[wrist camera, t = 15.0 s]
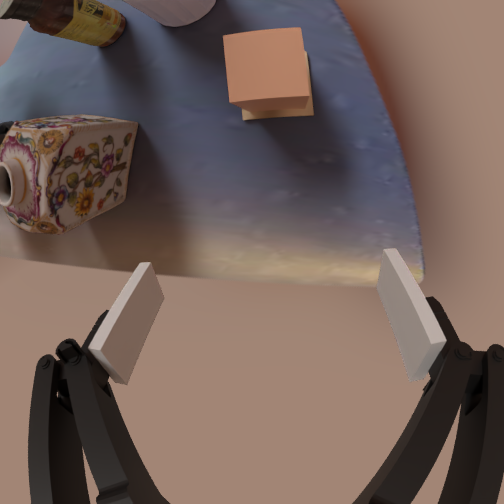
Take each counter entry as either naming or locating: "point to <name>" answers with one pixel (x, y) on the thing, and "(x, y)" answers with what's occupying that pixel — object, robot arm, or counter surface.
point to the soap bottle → (173, 10)
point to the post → (286, 112)
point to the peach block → (266, 69)
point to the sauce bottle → (68, 19)
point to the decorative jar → (64, 170)
